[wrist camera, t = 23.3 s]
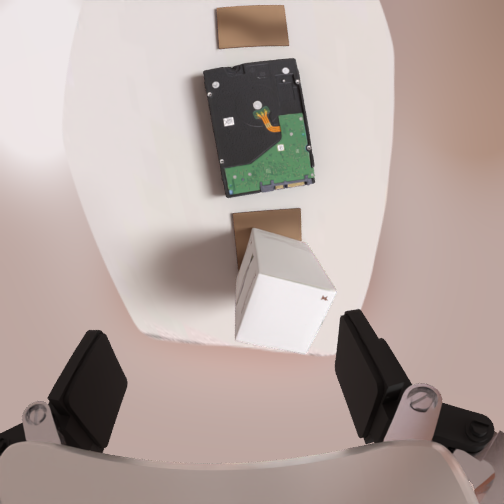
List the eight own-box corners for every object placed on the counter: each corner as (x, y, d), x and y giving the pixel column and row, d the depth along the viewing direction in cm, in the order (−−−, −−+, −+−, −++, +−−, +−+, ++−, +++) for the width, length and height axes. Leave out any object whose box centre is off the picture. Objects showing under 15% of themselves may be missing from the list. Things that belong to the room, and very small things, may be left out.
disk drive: (203, 76, 29) (227, 196, 34) (200, 70, 26) (226, 200, 31) (291, 63, 28) (313, 181, 34) (295, 56, 26) (319, 184, 31)
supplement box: (251, 225, 34) (258, 269, 23) (309, 242, 35) (341, 291, 24) (233, 279, 37) (232, 341, 25) (288, 293, 38) (307, 356, 26)
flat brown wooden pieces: (216, 9, 25) (216, 8, 24) (283, 6, 25) (284, 5, 25) (243, 320, 39) (243, 321, 39) (301, 314, 40) (301, 316, 39)
